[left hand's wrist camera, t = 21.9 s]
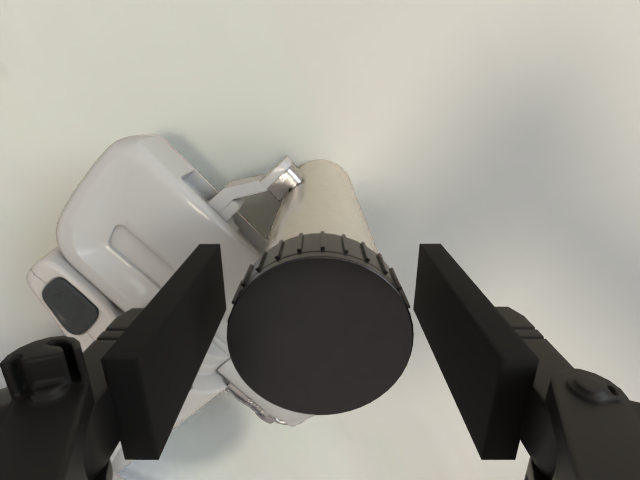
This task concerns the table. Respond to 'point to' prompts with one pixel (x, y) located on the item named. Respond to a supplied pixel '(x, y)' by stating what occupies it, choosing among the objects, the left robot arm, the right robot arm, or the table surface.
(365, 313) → the lid
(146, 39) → the table surface
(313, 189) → the jar
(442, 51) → the table surface
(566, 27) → the table surface
